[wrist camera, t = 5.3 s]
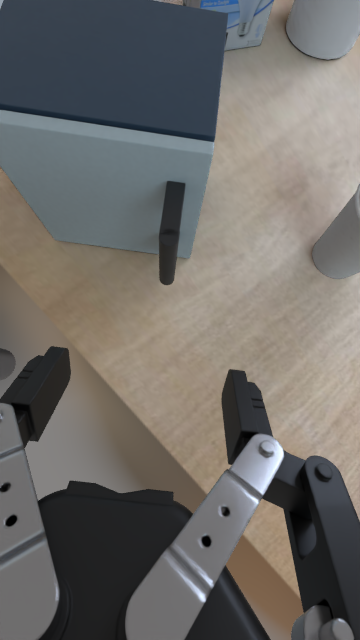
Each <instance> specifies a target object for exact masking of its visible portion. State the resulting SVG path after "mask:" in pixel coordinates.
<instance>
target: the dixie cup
mask: <svg viewBox="0 0 360 640" xmlns="http://www.w3.org/2000/svg"><path fill="white" fill-rule="evenodd" d="M312 257H313V261H314V263H315V265H316V267H317V268H318V269H319V271H320V272H322V273H323V274H324V275H326V276H328V277H331V278H335V279H342V278H346V277H349V276H351V275H354V274H356V273H359V272H360V184H359V186H358V188H357V191H356V193H355V194H354V195H353V197H352V198H351V199H350V200H349V202H348V203H347V204H346V206H345V207H344V208H343V209H342V211H341V212H340V213H339V214H338V216H337V217H336V218H335V220H334V221H333V222H332V223H331V225H330V226H329V227H328V229H327V230H326V231H325V232H324V234H323V235H322V236H321V237H320V239H319V240H318V241H317V243H316V244H315V246H314V248H313V251H312Z"/></svg>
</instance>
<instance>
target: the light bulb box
mask: <svg viewBox="0 0 360 640" xmlns="http://www.w3.org/2000/svg"><path fill="white" fill-rule="evenodd" d="M273 2H274V0H183V6H188V7H194V8H200V9H206V10H212V11H218V12H223V13H228V22H227V31H226V41H225V50H231V49H238V48H245V47H251V46H258V45H260V44H261V41H262V38H263V35H264V31H265V28H266V25H267V21H268V18H269V15H270V12H271V8H272V5H273ZM225 50H224V51H225Z"/></svg>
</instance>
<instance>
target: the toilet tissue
mask: <svg viewBox="0 0 360 640" xmlns="http://www.w3.org/2000/svg"><path fill="white" fill-rule="evenodd" d="M286 30H287V34H288V37H289V38H290V40H291V42H292V43H293V44H294V45H295V46H296V47H297V48H298V49H300V50H301V51H302V52H304V53H306V54H308V55H310V56H313V57H316V58H321V59H327V60H329V59H336V58H340V57H342V56H343V55H345V54H347V53H348V52H349V51H350V50H351V48H352V47H353V45H354V43H355V42H356V40H357V38H358V36H359V35H360V0H294V2H293V5H292V8H291V11H290V14H289V17H288V20H287V24H286Z"/></svg>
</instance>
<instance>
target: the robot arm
mask: <svg viewBox="0 0 360 640" xmlns="http://www.w3.org/2000/svg"><path fill="white" fill-rule="evenodd" d="M70 375H71V369H70V359H69V351H68V349H67V348H60V347H53V346H51V347H50V348H49V349H48V351H47V352H46V354H45V355H44V356H40V355H38V356H36V357H35V358H34V359H32V360H30V361H29V362H28V363H27V365H26V366H25V367H24V369H23V370H22V371H21V373H20V374H19V375H18V377H17V378H16V379H15V380H14V382H13V383H12V384H11V386H10V387H9V388H8V389H7V391H6V392H5V393H4V395H3V396H2V397H1V399H0V640H271V639H270V638H269V636H268V635H267V633H266V631H265V630H264V628H263V626H262V625H261V623H260V621H259V620H258V618H257V616H256V615H255V613H254V611H253V610H252V608H251V606H250V605H249V603H248V602H247V600H246V598H245V597H244V595H243V593H242V592H241V590H240V589H239V587H238V585H237V583H236V582H235V580H234V578H233V577H232V575H231V573H230V572H229V570H228V569H227V567H226V565H225V564H226V563H227V561H228V559H229V557H230V555H231V553H232V552H233V550H234V548H235V546H236V544H237V542H238V541H239V539H240V537H241V535H242V534H243V532H244V530H245V528H246V526H247V524H248V523H249V521H250V519H251V517H252V515H253V514H254V512H255V510H256V508H257V506H258V504H259V503H260V501H261V499H264V500H266V501H269V502H271V503H273V504H275V505H277V506H279V507H281V508H283V509H284V514H285V519H286V524H287V530H288V535H289V540H290V545H291V550H292V555H293V560H294V565H295V571H296V576H297V581H298V586H299V591H300V596H301V601H302V606H303V612H304V614H302V615H301V616H300V617H299V618H298V619H296V621H295V622H294V625H293V627H292V634H291V638H292V639H291V640H360V522H359V519H358V516H357V514H356V511H355V509H354V506H353V504H352V501H351V499H350V496H349V493H348V491H347V488H346V486H345V483H344V481H343V478H342V476H341V473H340V472H339V470H338V469H337V467H336V466H335V465H334V464H333V463H331V462H330V461H329V460H327V459H325V458H323V457H320V456H310V457H309V458H307V460H303V459H301V458H298V457H296V456H294V455H291V454H289V453H287V452H286V451H284V450H283V448H282V446H281V445H280V443H279V442H278V441H277V440H276V439H274V438H273V435H272V431H271V428H270V424H269V420H268V417H267V413H266V410H265V406H264V402H263V399H262V395H261V391H260V390H259V388H258V387H257V386H256V385H255V383H252V382H247V377H246V373H245V371H240V370H232V369H230V370H229V371H228V374H227V378H226V381H225V384H224V388H223V392H222V411H223V420H224V429H225V438H226V447H227V456H228V464H231V465H232V466H231V467H230V468H229V470H228V469H227V470H225V472H224V473H223V474H222V475H221V477H220V478H219V480H218V481H217V482H216V484H215V485H214V486H213V488H212V489H211V491H210V492H209V493H208V495H207V496H206V497H205V499H204V500H203V502H202V503H201V504H200V506H199V507H198V509H197V510H196V511H195V513H194V514H193V513H192V512H191V511H190V510H188V509H187V508H186V507H185V506H183V505H182V504H180V503H178V502H176V501H174V500H173V492H169V491H160V490H151V489H146V490H140V491H134V492H128V493H117V492H115V491H113V490H110V489H108V488H105V487H103V486H100V485H98V484H96V483H87V482H78V481H69V484H68V487H67V489H64V490H60V491H57V492H54V493H52V494H49V495H47V496H45V497H44V498H42V499H40V500H39V501H38V499H37V495H36V491H35V488H34V484H33V480H32V476H31V472H30V468H29V464H28V460H27V456H26V453H25V449H24V448H25V447H26V445H27V443H28V441H37V442H38V440H39V439H40V437H41V435H42V433H43V431H44V429H45V427H46V425H47V423H48V421H49V419H50V418H51V416H52V414H53V412H54V410H55V408H56V406H57V404H58V402H59V400H60V399H61V397H62V395H63V393H64V391H65V389H66V387H67V385H68V383H69V380H70Z"/></svg>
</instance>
